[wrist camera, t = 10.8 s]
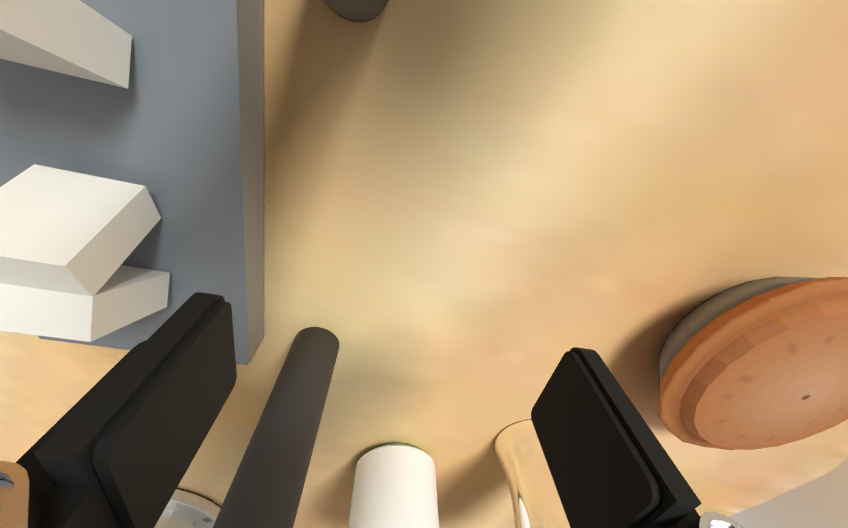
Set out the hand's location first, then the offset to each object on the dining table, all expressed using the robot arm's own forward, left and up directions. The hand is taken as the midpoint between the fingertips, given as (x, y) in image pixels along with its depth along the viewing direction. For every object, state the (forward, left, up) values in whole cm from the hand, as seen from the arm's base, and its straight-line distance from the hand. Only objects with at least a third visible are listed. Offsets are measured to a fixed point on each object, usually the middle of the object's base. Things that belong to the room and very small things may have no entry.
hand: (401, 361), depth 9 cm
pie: (-4, -26, -11) cm, 28 cm away
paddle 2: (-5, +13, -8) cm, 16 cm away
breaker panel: (0, +13, -10) cm, 17 cm away
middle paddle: (0, +13, -8) cm, 15 cm away
